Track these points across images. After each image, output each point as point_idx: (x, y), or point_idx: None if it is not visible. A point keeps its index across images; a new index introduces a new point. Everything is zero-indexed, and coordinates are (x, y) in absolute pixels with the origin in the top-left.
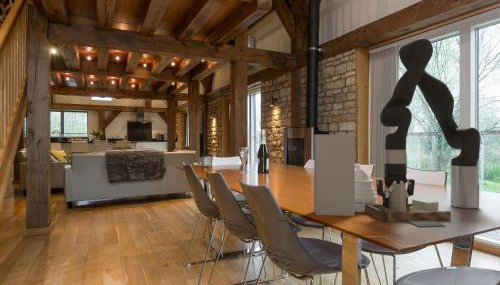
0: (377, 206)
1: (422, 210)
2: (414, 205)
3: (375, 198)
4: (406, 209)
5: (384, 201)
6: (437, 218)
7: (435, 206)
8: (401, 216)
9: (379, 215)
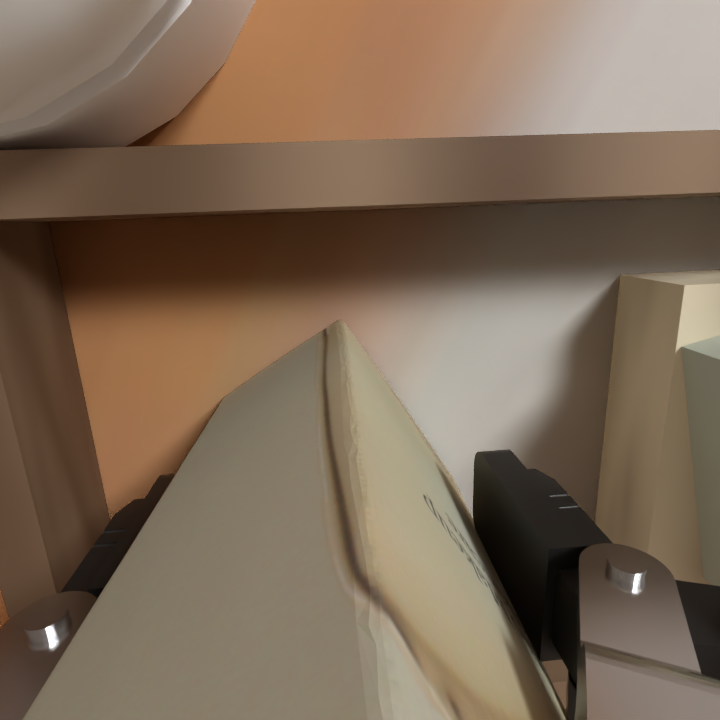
0: (149, 214)
1: (677, 532)
2: (715, 402)
3: (92, 16)
4: (651, 197)
5: None
6: None
7: None
8: None
9: None
